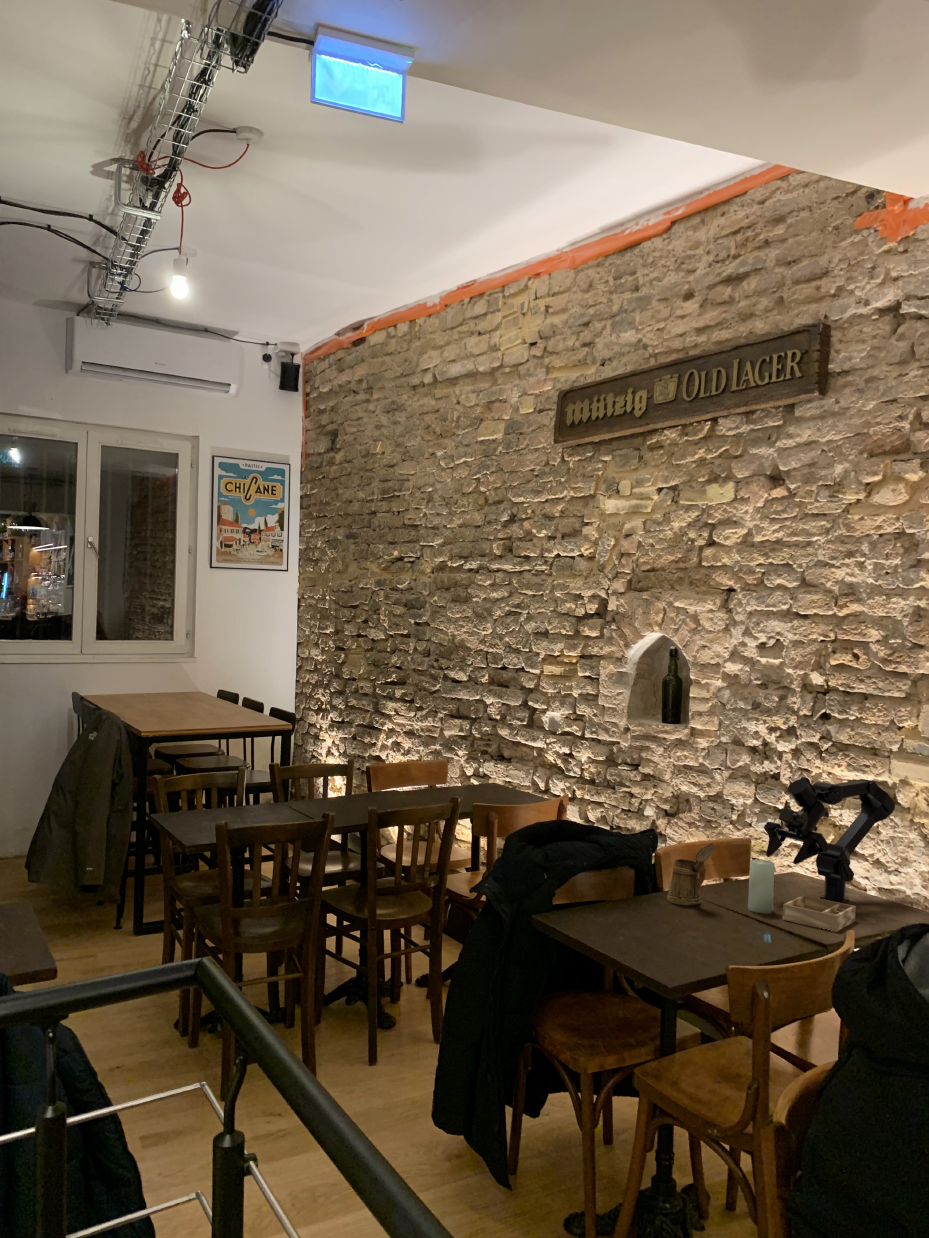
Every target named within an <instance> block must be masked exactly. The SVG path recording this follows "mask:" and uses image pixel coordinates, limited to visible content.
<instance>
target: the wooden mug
mask: <svg viewBox="0 0 929 1238" xmlns="http://www.w3.org/2000/svg"><path fill="white" fill-rule="evenodd" d="M715 848H716V847H715V845H714V843H710V844H707V845H706V846H704V847H703V848H701V849H700V850H699V851H698V852H697V853H696V854H695V860H693V859H692V860H691V859H686V858H677V859H675V860H674V864H673V866H672V869H671V870H672V872H671V873H672V875H671V879H670V885H669V888H668V889H669V890H668V893H667V897H666V900H667V901H668V902H669V903H672V904H674V905H679V906H687V907H688V906H690V907H691V906H692V907H693V906H698V905H700V904H701V902H702V901H701V900H702V899H701V895H700V888H701V887H702V885H703V883H704V881H705V879H706V873H707V872H706V866H705V864H704V863H705V862H706V861H707V860H708V859H709V858H710V857H711V856H712V855H713V854H714V852H715Z"/></svg>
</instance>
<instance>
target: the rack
mask: <svg viewBox="0 0 929 1238" xmlns="http://www.w3.org/2000/svg"><path fill="white" fill-rule="evenodd" d="M856 909H857V906H856V905H853V904H852V905H851V904H847V903H844V902H843V903H840V902H835V901H831V900H826V899H821V898H820V897H814V896H810V895H805V894H804V895H801V896H799V897H796V898H794V899H792V900H790V901H788V902H787V901H786V902H785V903H783V904H782V920H783V921H788V922H790V923H796V924H800V925H804V926H809V927H813V928H817V927H818V929H821V928H822V930H825V929H827V930H826V931H829V930H830V932H834V933H837V932H839V931H840V930H842V929H844V928H846V927H847V926H849V925H851V924H853V923H855V922H856Z"/></svg>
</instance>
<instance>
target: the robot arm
mask: <svg viewBox="0 0 929 1238" xmlns="http://www.w3.org/2000/svg"><path fill="white" fill-rule="evenodd" d="M787 791H788V793H789V794H790V796H791V798H792V799H793V800H794V802H795V804H796V805H797V806H798V807H800V808H801V809H800V810H798V811H795V810H793V809H792V810H791V809H787V808H781V810H780V813H779V815H778V820H779V821H782V822H784V826H785V828H787V829H783V827H782V825H781V824H780V823H778V822H773V821H766V823H765V824H764V826H763V830H764V831H765V832H766V834H767V835H768V843H767V849H766V853H765V854H766V857H767V858H770V857H771V856H772V855H774V854H775V852H777V851H778V850H779V849H780V848H781V847H782V846H783V843H784V842H785V840H786V839H791V840H793V841H796V842H802V846H801V847H800V849H799V850H798V852H797V853H796V855H795V857H794V859H793V861H792V863H793V864H794V865H798V864H800V863H802V862H803V861H806V860H807V859H810V858H812V857H815V856H816V857H815V865H816V870H817V874H818V876H822V877H824V887H823V888H824V890H823V895H820V896H819V898H820V899H821V898H822V899H825V900H826V899H827V900H829V901H831V900H832V901H834V902H839V903H843V904H844V902H847V901H848V899H849V900H850V897H848V896H846V887H847V886H846V883H851V882H853V880H854V877H855V873H854V871H853V869H852V868H851V867H850V865H851V854H852V853H853V852H854V851H855V849H857V847H858V846H859V844H860V843H861V842H862V841H863V840H864V838H865V837H866V836H867V835H868V834H869V832H870V831H871V829H872V828H873V827H874V826H875V824H876V823H880V822H881V821H885V820H886V819H887V818H888V817H889V816H891V815H892V814H893V812H894V811H895V808H896V803H895V801H894V800H893V798H892V797H891V796H890V794H888V793H887V792H886V791H885V790H883V788H881V787H880V786H879V785H878V784H877V783H876V782H875V781H873V780H872V779H871V780H869V779H864V778H860V779H859V778H858V779H857V780H852V781H845V782H840V783H839V782H837V783H829V782H821V781H820V782H819V781H816V782H814V783H811V781H810V779H809V778H808V777H806V776H801V778H798V779H796V780H793V781H792V782H791V783H789V785H788V787H787ZM856 796H857V797H858V799H859V801H860V802H861V803H860V813H858V815H857V816H856V818H855V819H854V820H853V822H852V823H850V825H849V826H848V828H846V830H845V831H844V833H843V834H842V835H841V836H840V837H839V839H838V840H837V841H836V842H835V843H829V842H828V841H827V840H826V838H825V837H824V835H823V833H821V832H817V831H818V827H817V825H818V824H819V822H820V820H822V818H827V819H828V818H829V817H830V813H829V810H828V809H829V808H828V807H826V806H825V804H826V805H831V806H833V805H836V804H839V803H841V802H842V801H843V799H846V798H852V797H856ZM846 900H847V901H846Z"/></svg>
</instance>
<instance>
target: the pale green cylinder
mask: <svg viewBox="0 0 929 1238" xmlns="http://www.w3.org/2000/svg"><path fill="white" fill-rule="evenodd" d="M749 861H750V863H749V876H748V877H749V879H748V882H749V883H748V900H747V901H748V902H747V910H749V911H751V912H753V913H757V914H772V913H773V909H774V908H773V905H774V887H775V885H774V884H775V882H774V881H775V868H776V867H775V866H776V865H775V862H773V861H770V860H764V859H751V860H749Z"/></svg>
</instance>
